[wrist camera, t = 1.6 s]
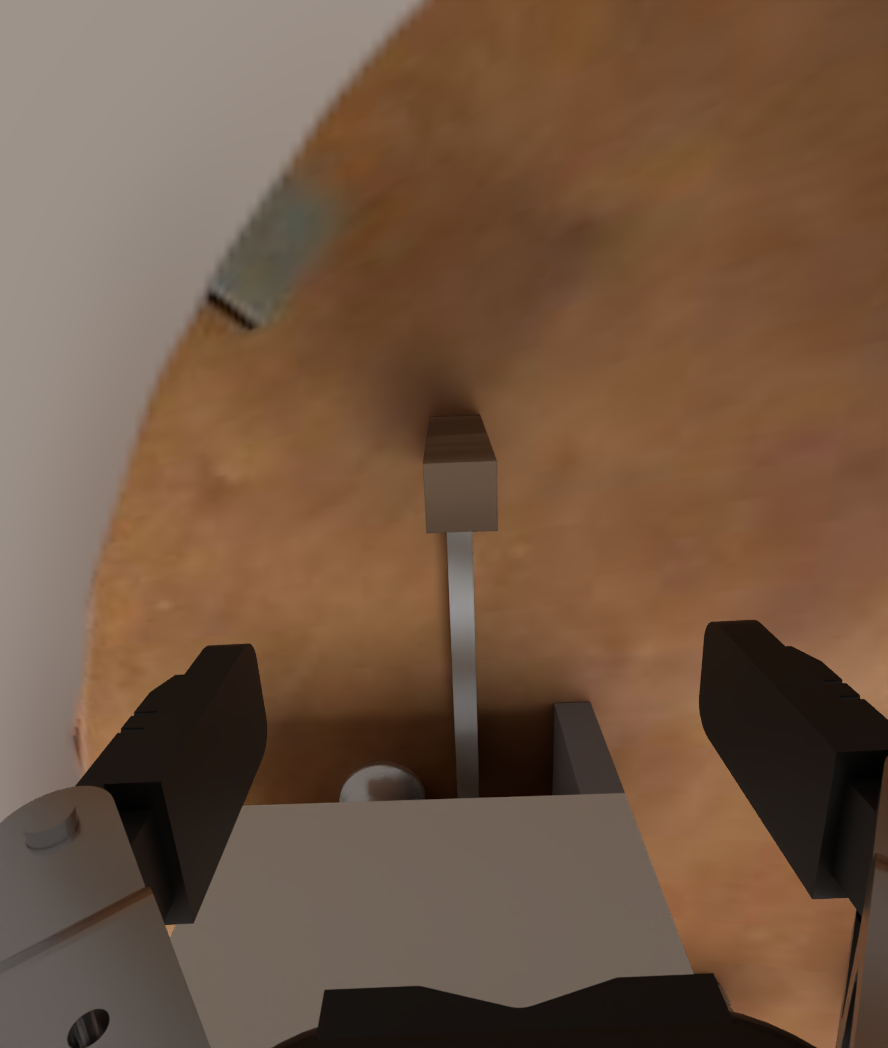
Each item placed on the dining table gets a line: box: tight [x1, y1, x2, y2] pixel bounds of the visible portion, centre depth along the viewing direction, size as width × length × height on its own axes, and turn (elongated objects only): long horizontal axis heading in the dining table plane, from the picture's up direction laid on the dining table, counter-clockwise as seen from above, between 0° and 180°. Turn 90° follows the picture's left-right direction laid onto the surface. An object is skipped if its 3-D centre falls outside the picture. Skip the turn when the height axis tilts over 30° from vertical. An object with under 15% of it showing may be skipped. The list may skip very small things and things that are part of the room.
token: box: [339, 760, 426, 802], centre depth 37 cm, size 5×5×1 cm
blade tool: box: [423, 415, 498, 799], centre depth 28 cm, size 21×2×10 cm, turn 2°
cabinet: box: [170, 702, 694, 1048], centre depth 29 cm, size 20×19×19 cm
